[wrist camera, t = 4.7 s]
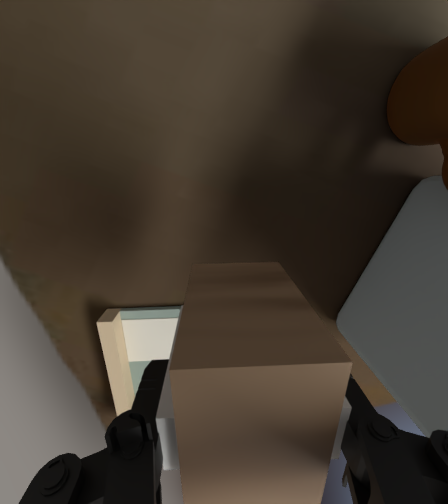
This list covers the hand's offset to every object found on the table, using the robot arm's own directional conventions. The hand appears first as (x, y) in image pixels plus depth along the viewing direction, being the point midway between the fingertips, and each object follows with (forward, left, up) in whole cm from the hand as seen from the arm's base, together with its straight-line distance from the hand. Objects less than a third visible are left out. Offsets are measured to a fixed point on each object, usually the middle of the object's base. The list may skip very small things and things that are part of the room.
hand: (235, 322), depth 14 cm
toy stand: (+14, -8, -11) cm, 20 cm away
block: (0, 0, -1) cm, 1 cm away
